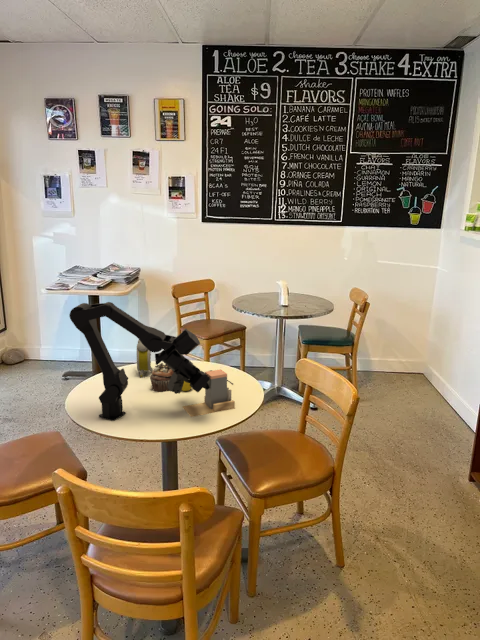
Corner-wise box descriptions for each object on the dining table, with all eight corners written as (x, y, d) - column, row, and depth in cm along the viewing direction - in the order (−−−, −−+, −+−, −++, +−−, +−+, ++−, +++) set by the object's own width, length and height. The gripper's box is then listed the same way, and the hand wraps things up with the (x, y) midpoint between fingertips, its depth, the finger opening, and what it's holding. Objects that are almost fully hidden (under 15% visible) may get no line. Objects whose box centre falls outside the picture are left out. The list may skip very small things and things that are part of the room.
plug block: (211, 409, 161) (211, 376, 158) (205, 403, 165) (205, 371, 162) (226, 406, 164) (227, 373, 161) (220, 401, 168) (220, 369, 165)
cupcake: (177, 384, 186) (177, 360, 183) (171, 393, 176) (171, 368, 174) (154, 383, 187) (153, 359, 184) (147, 392, 177) (146, 367, 175)
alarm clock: (138, 369, 202) (137, 335, 199) (154, 368, 203) (153, 335, 200) (137, 378, 191) (135, 343, 188) (154, 377, 192) (153, 342, 189)
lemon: (179, 395, 175) (179, 375, 173) (177, 390, 180) (177, 370, 178) (194, 394, 176) (194, 374, 174) (191, 388, 181) (191, 369, 179)
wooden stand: (191, 419, 155) (190, 399, 154) (181, 409, 163) (181, 390, 161) (235, 410, 162) (235, 392, 161) (224, 401, 170) (224, 383, 168)
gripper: (152, 371, 160) (183, 396, 168) (169, 390, 144) (203, 417, 151) (174, 347, 162) (203, 372, 169) (193, 363, 146) (225, 390, 153)
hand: (208, 388), depth 161 cm, fingers closed
